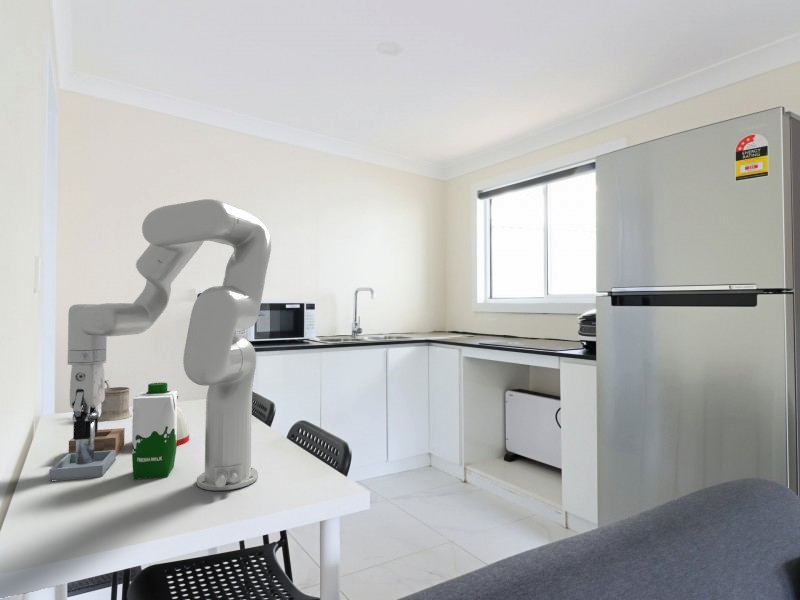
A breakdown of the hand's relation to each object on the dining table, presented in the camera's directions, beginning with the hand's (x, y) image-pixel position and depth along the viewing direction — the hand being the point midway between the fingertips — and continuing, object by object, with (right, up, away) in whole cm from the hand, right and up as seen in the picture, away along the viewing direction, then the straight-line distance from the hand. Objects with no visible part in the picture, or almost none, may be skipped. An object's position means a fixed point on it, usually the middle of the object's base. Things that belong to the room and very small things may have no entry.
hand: (85, 434), depth 109 cm
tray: (0, -8, 0) cm, 8 cm away
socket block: (-5, -8, +12) cm, 15 cm away
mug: (-26, -9, +53) cm, 60 cm away
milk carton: (+17, -8, -2) cm, 19 cm away
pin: (0, -6, 0) cm, 6 cm away
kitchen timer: (+6, -9, +23) cm, 26 cm away
